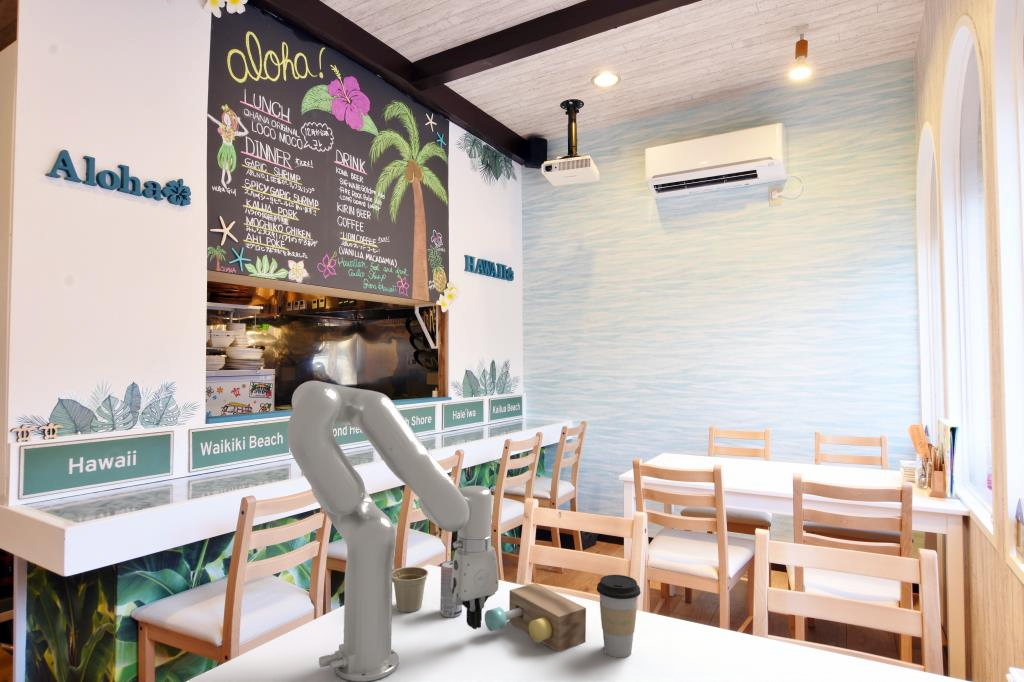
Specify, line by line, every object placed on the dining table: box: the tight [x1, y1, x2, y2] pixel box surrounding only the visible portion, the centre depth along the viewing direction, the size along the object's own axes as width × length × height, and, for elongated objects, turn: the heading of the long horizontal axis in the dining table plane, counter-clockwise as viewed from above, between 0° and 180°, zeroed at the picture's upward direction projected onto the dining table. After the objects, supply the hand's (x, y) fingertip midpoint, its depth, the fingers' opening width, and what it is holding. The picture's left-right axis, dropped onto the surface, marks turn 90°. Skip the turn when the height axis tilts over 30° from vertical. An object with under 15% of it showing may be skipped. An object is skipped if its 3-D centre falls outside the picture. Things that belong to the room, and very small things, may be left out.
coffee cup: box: [596, 574, 642, 658], centre depth 130 cm, size 9×9×15 cm
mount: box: [508, 582, 587, 653], centre depth 139 cm, size 8×18×8 cm, turn 37°
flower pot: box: [392, 566, 429, 613], centre depth 151 cm, size 9×9×9 cm
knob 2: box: [529, 617, 552, 643], centre depth 134 cm, size 11×4×4 cm, turn 127°
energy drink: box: [439, 560, 463, 619], centre depth 148 cm, size 5×5×12 cm
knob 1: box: [484, 606, 523, 632], centre depth 139 cm, size 11×4×4 cm, turn 127°
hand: (474, 626), depth 133 cm, fingers closed
